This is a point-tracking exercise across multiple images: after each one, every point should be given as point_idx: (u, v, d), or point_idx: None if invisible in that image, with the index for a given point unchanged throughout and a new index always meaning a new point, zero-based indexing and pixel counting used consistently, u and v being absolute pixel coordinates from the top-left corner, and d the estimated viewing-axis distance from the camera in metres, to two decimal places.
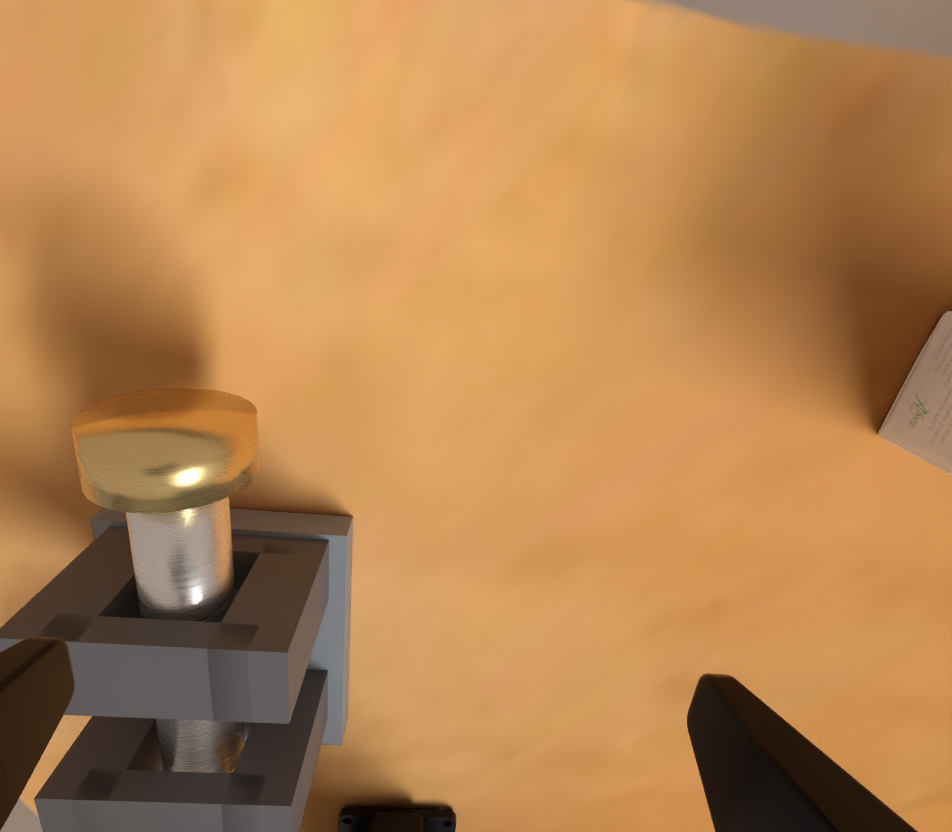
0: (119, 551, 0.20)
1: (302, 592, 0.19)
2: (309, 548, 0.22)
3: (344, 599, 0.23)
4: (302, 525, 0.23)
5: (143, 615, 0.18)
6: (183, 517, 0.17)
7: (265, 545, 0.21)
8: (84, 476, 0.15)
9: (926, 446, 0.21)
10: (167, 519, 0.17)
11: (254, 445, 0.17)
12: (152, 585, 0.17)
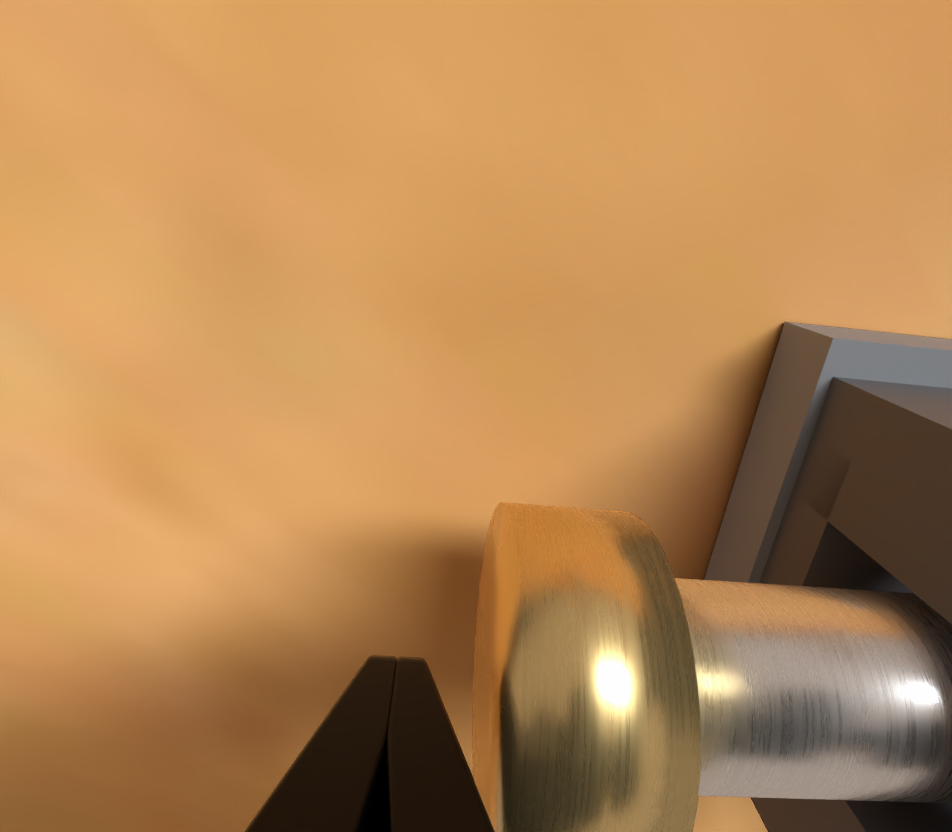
0: None
1: None
2: (844, 421, 0.10)
3: None
4: (782, 425, 0.11)
5: None
6: (725, 715, 0.07)
7: (812, 505, 0.10)
8: None
9: None
10: (723, 749, 0.07)
11: (574, 529, 0.07)
12: (884, 793, 0.07)
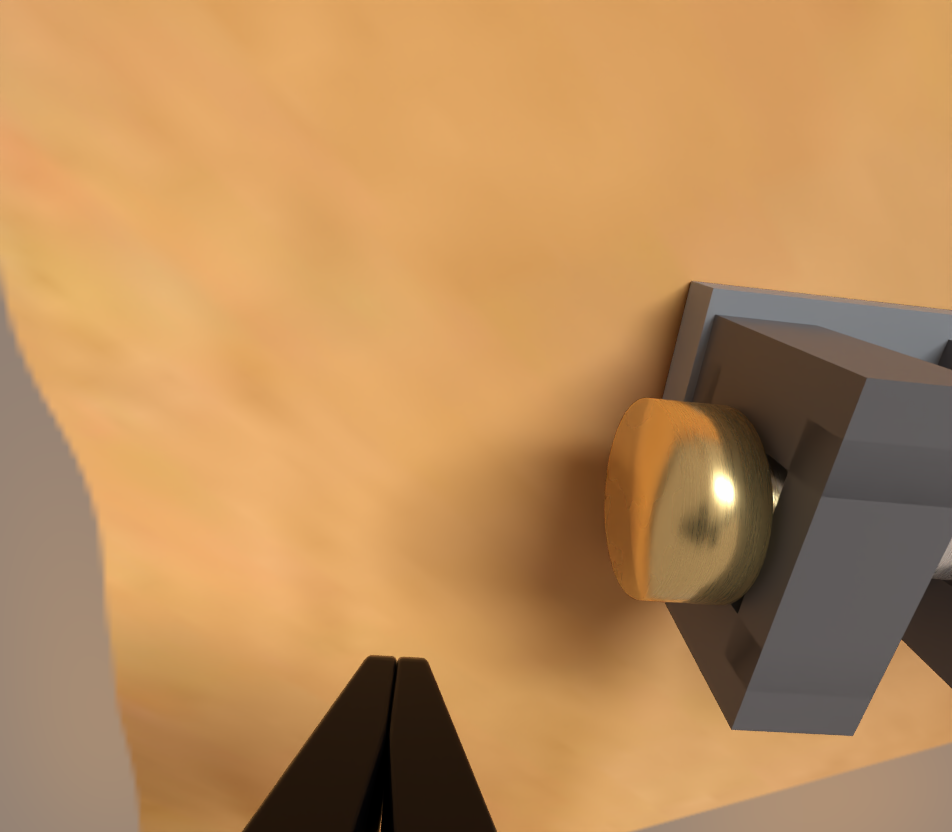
0: None
1: (776, 352, 0.12)
2: (719, 342, 0.15)
3: (823, 301, 0.15)
4: (687, 350, 0.16)
5: None
6: None
7: (703, 400, 0.15)
8: (701, 601, 0.13)
9: None
10: None
11: (692, 405, 0.13)
12: None
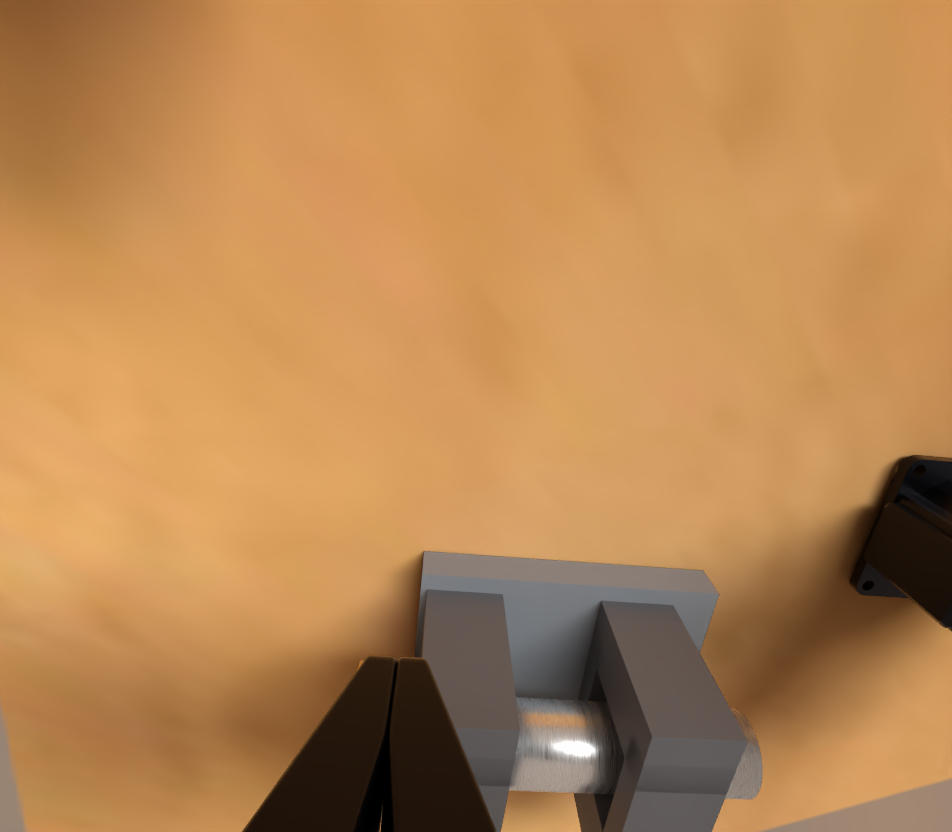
0: None
1: None
2: None
3: (504, 579, 0.21)
4: None
5: (537, 791, 0.20)
6: None
7: None
8: None
9: None
10: None
11: None
12: None
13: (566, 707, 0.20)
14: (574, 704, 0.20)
